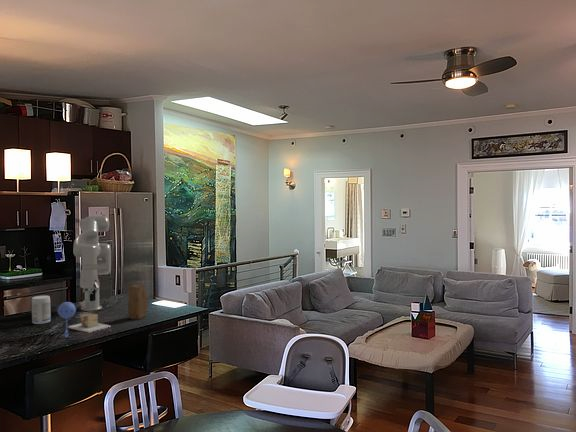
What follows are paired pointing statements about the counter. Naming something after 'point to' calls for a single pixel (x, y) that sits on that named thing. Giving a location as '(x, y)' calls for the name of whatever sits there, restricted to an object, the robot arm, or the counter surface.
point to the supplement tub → (41, 309)
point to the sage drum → (87, 296)
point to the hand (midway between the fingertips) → (89, 300)
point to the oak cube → (89, 320)
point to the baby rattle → (66, 312)
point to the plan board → (90, 329)
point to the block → (137, 302)
